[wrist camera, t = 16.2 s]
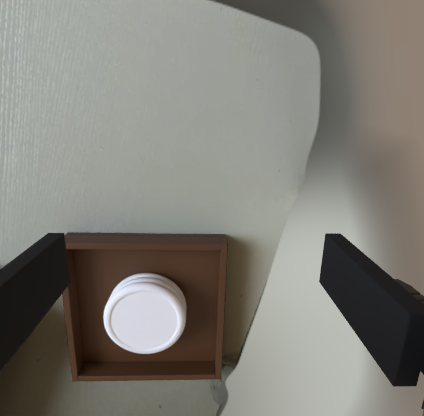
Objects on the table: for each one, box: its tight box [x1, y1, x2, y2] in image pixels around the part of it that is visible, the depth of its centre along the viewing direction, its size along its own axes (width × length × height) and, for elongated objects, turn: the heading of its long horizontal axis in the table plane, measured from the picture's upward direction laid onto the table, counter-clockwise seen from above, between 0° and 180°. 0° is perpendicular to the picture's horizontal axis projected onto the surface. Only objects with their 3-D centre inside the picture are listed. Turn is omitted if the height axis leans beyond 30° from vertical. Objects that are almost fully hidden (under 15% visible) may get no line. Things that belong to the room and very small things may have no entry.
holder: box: [62, 233, 228, 381], centre depth 40 cm, size 20×20×3 cm
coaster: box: [103, 273, 187, 354], centre depth 39 cm, size 10×10×4 cm
